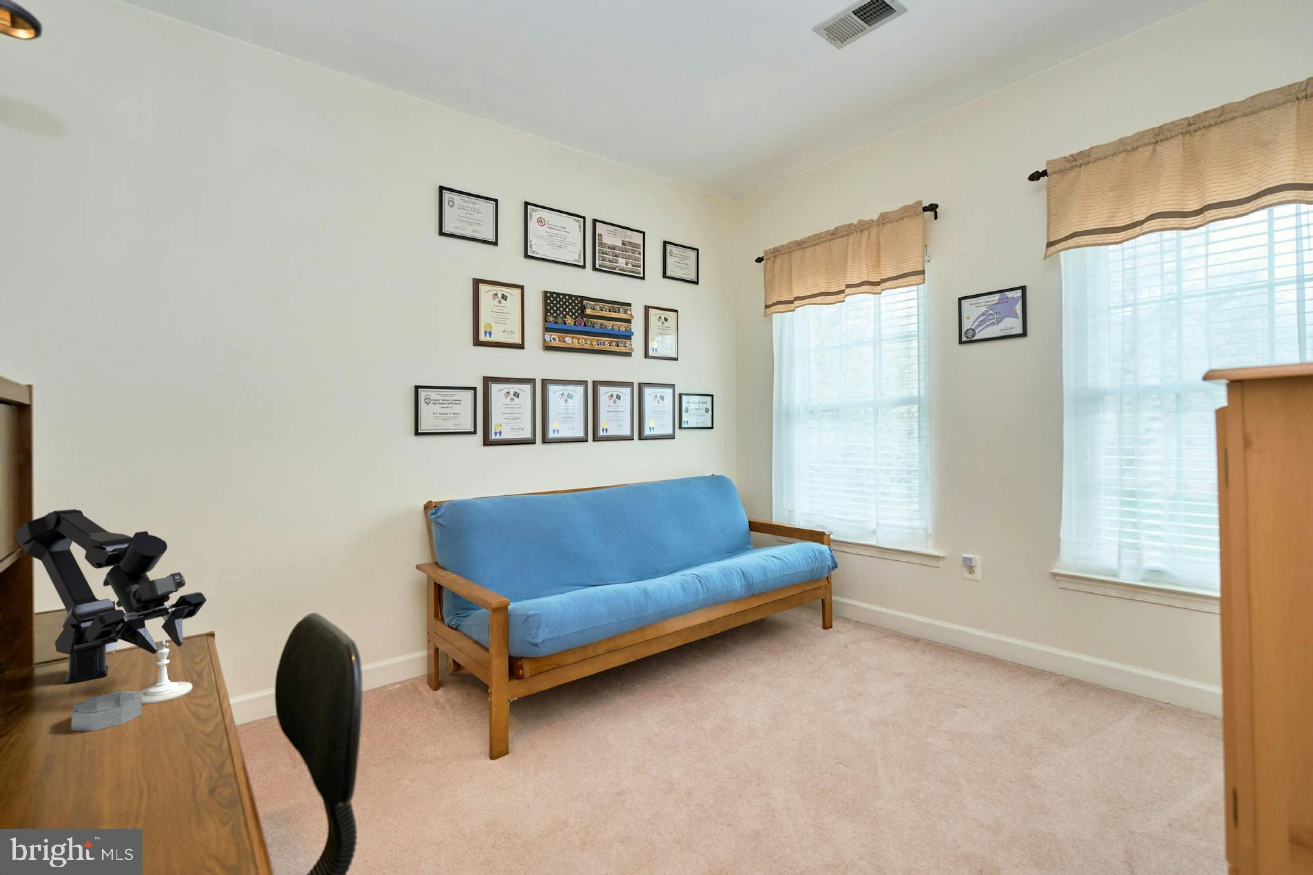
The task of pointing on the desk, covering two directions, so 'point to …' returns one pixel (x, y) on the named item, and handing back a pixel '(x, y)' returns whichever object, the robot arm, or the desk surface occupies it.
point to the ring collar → (106, 711)
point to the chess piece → (162, 674)
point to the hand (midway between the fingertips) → (168, 648)
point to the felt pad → (182, 690)
